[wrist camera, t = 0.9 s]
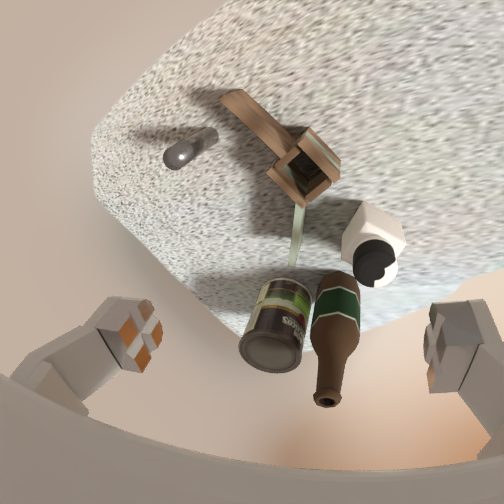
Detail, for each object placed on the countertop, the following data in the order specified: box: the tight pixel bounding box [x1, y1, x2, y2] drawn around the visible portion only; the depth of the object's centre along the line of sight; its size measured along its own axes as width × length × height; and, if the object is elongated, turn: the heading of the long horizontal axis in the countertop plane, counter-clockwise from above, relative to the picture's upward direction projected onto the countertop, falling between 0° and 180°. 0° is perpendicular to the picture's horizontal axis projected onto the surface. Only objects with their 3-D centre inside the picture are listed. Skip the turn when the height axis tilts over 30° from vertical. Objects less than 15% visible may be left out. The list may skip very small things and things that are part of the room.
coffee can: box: [239, 277, 312, 373], centre depth 55 cm, size 10×10×14 cm
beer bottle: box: [310, 271, 360, 408], centre depth 47 cm, size 8×8×24 cm
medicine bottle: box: [341, 201, 406, 287], centre depth 44 cm, size 7×7×12 cm
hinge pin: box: [163, 127, 219, 170], centre depth 43 cm, size 3×3×12 cm
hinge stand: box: [219, 89, 341, 267], centre depth 44 cm, size 23×14×8 cm, turn 48°
